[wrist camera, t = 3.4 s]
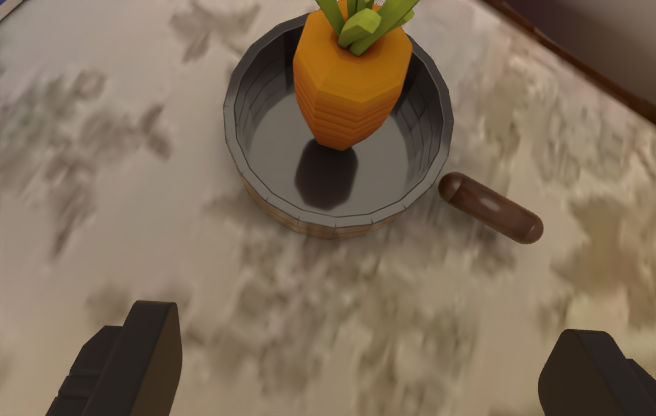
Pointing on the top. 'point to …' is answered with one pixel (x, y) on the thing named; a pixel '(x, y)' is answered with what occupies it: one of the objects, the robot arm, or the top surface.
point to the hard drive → (7, 6)
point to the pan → (327, 163)
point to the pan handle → (490, 208)
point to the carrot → (351, 68)
